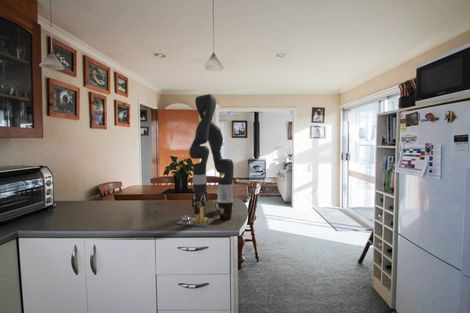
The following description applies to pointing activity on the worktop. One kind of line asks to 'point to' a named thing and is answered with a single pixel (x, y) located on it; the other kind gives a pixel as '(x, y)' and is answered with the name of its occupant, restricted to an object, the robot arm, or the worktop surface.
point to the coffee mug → (224, 209)
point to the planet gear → (200, 215)
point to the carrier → (188, 221)
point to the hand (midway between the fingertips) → (200, 212)
